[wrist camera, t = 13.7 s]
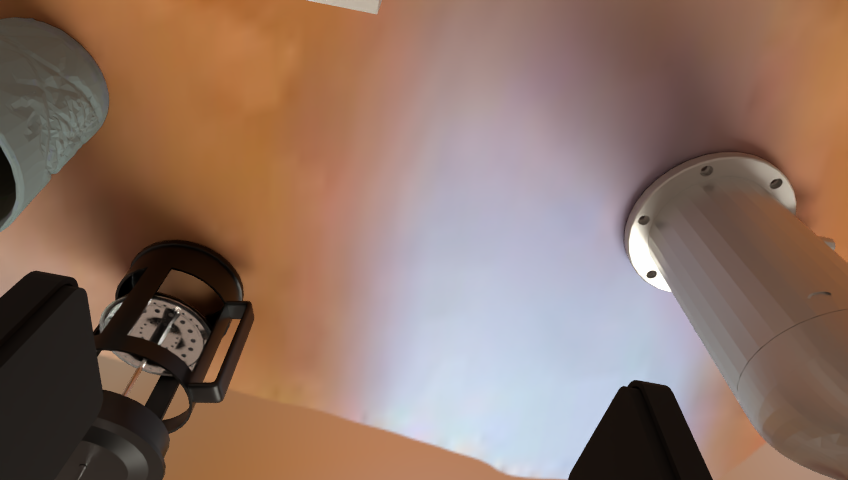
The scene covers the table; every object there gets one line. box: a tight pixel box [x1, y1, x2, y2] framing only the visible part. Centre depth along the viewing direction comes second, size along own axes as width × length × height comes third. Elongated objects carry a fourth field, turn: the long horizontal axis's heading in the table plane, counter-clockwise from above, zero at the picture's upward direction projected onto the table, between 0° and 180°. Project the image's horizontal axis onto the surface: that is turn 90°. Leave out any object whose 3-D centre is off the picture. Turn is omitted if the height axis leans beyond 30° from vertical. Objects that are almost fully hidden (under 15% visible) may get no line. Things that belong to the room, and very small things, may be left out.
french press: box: [55, 240, 254, 480], centre depth 37 cm, size 12×9×23 cm
